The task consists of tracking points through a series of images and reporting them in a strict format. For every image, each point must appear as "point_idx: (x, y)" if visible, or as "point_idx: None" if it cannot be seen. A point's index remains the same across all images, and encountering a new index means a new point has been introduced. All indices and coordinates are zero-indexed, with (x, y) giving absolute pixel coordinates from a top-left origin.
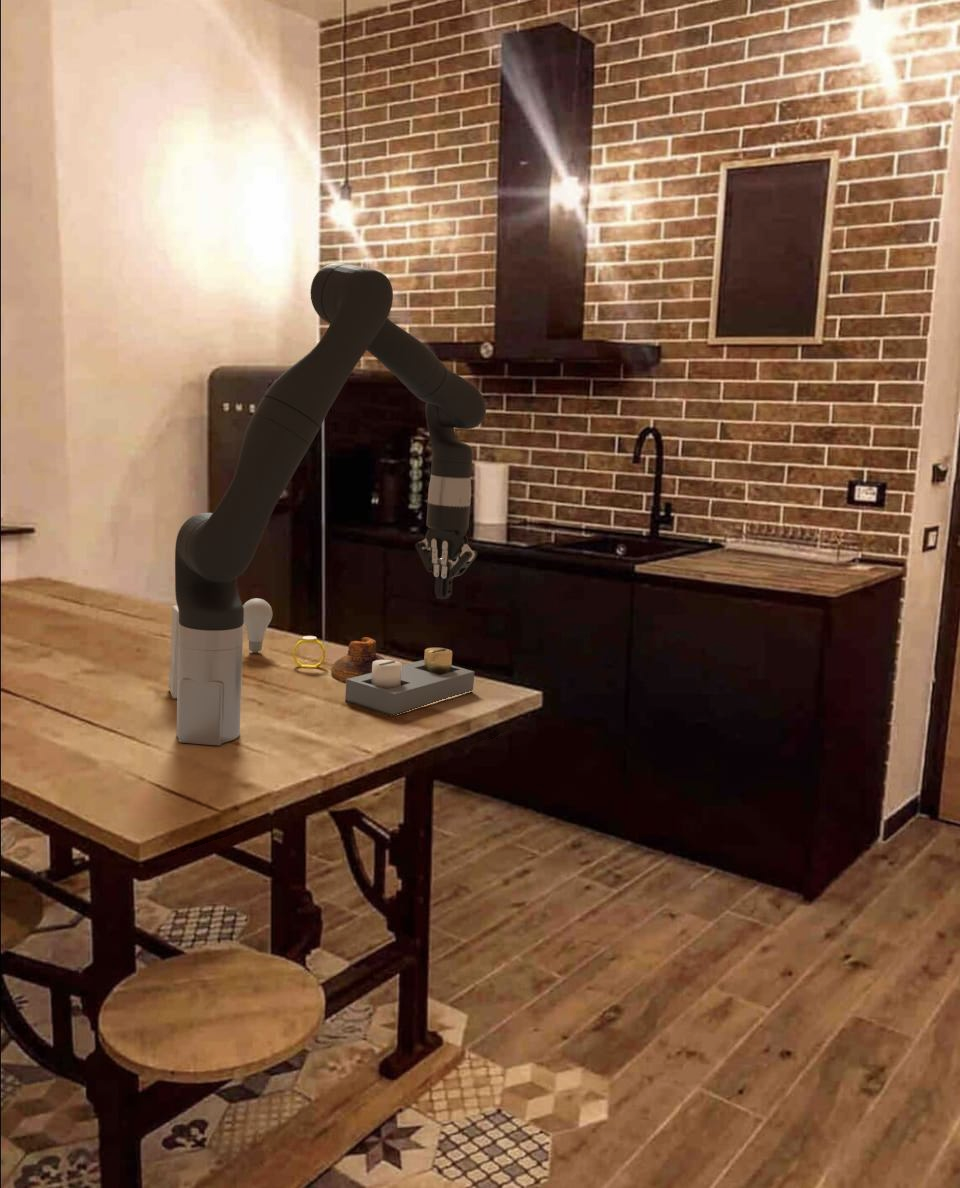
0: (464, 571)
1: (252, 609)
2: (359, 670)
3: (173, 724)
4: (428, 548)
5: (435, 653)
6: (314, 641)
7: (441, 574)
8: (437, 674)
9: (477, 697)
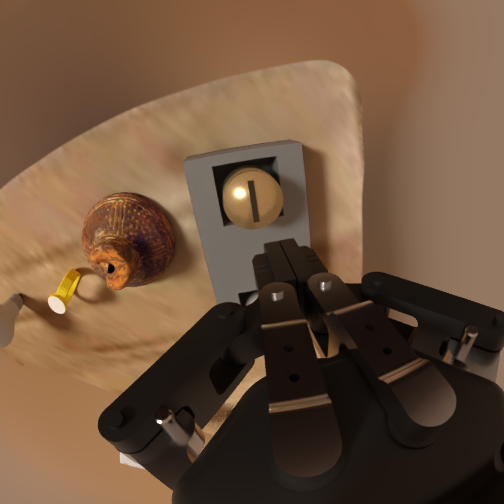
0: (404, 280)
1: (5, 345)
2: (155, 275)
3: (215, 421)
4: (204, 437)
5: (265, 220)
6: (66, 302)
7: (311, 335)
8: (279, 217)
9: (312, 152)
